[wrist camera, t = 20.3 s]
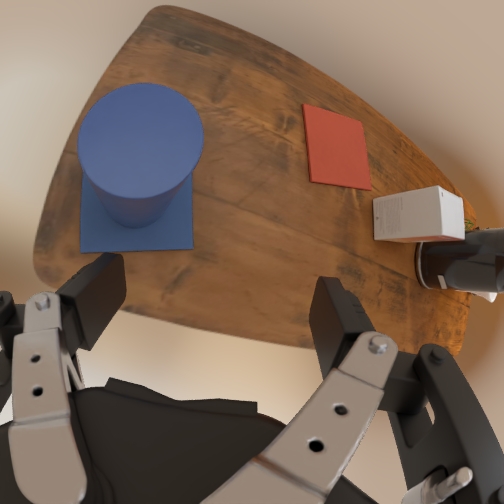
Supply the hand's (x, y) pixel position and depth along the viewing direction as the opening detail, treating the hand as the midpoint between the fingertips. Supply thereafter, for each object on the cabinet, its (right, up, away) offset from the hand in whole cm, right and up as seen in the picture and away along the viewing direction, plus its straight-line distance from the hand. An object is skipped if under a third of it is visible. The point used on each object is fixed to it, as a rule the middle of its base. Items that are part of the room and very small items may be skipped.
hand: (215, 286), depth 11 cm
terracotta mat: (+12, +14, +21) cm, 28 cm away
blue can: (-8, +6, +11) cm, 15 cm away
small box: (+21, +5, +24) cm, 32 cm away
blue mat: (-9, +6, +11) cm, 15 cm away
